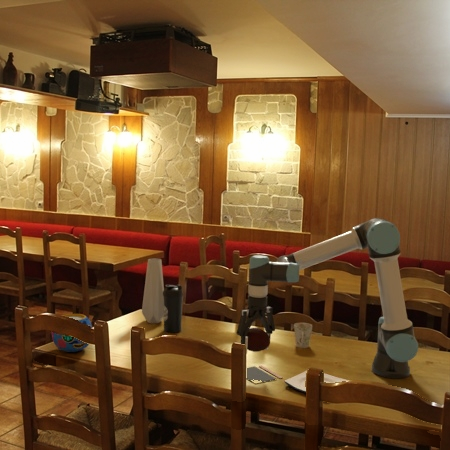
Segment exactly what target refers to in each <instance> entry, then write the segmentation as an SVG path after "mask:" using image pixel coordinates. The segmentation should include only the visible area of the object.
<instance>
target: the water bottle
mask: <svg viewBox="0 0 450 450" xmlns="http://www.w3.org/2000/svg"><path fill="white" fill-rule="evenodd" d="M184 293H185V292H184V290H183V287H182V285H181V284H179V283H178V284H176V285H174V284H165V287H164V291H163V297H164V317H163V332H165V333H167V334H177V333H180V332H182V319H183V317H182V316H183V299H184V298H183V297H184Z"/></svg>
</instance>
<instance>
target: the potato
mask: <svg viewBox="0 0 450 450" xmlns="http://www.w3.org/2000/svg"><path fill="white" fill-rule="evenodd" d="M246 336H247V337H248V346H247V351H251V352H253V353H256V352H258V353H259V352H262V351H264V350H266V348H268V346H269V347H270V344H271V337H269V335H268V334H267V333H266V331H265V330H264V329H261V328H258V327H250V329H249V331H248V333H247V335H246Z"/></svg>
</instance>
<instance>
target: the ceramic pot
mask: <svg viewBox="0 0 450 450" xmlns="http://www.w3.org/2000/svg"><path fill="white" fill-rule="evenodd" d="M61 316H65V317H69V318H73V319H75V320H78V321H79V322H81V323H83V324H86V325H88V326H90V327H91V328H93V325H92V322H91V321H90V319H89V317H87V316H86V315H84V314H81V313H68V314H62V315H61ZM51 338H52V341H53V344H54V345H55V347H56V348H57V349H58V350H61V351H64V352H67V353H76V352H80V351H82V350H84V349H86V348H87V347H88V346H89V345H90V343H89V344H87V343H84V342H82V341H80V340H78V339H76V338H74V337H71V336H65V335H60V334H56V333H53V332H52V331H51Z"/></svg>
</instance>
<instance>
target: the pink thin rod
mask: <svg viewBox="0 0 450 450" xmlns="http://www.w3.org/2000/svg"><path fill="white" fill-rule="evenodd" d="M258 366H259V367H258V368H260V367H261V368H260V369H261V370H263V369H264V371H265V370H266V371H265V372H267V371H268V372H267V373H269V374H270V375H272V374H273V376H274V375H275V376H274V377H275V378H278V379H279V378H280V380H281V378H282V379H283V378H284V376H281V375H279V374H278V373H276V372H274V371H272V370H270V369H269V368H267V367H265V366H263V365H258Z"/></svg>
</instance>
